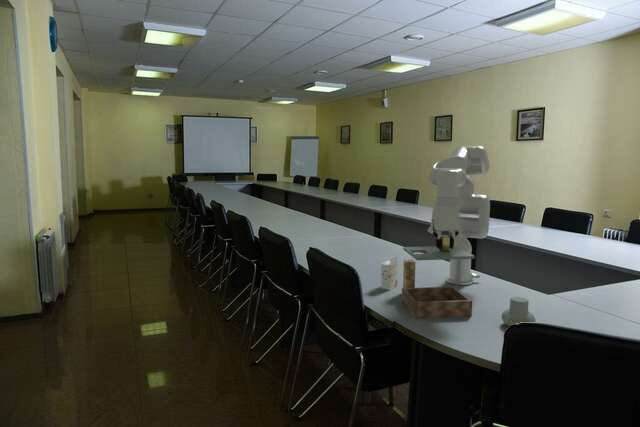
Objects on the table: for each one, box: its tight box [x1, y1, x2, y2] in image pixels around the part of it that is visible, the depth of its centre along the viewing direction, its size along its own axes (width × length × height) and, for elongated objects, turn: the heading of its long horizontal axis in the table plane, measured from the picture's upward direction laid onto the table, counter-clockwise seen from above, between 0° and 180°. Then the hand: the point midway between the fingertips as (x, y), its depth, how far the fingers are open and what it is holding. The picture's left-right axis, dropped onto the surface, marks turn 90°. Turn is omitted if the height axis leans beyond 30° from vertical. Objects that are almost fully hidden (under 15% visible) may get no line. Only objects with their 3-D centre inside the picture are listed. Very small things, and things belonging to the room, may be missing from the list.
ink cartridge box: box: [380, 255, 399, 291], centre depth 198 cm, size 9×5×15 cm, turn 148°
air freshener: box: [501, 296, 536, 327], centre depth 152 cm, size 11×8×10 cm
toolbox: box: [401, 286, 473, 319], centre depth 170 cm, size 22×18×6 cm
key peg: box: [402, 259, 416, 288], centre depth 187 cm, size 4×4×15 cm
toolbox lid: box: [402, 234, 476, 261], centre depth 167 cm, size 22×18×7 cm
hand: (444, 247), depth 167 cm, fingers closed on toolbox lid, 4 cm apart
